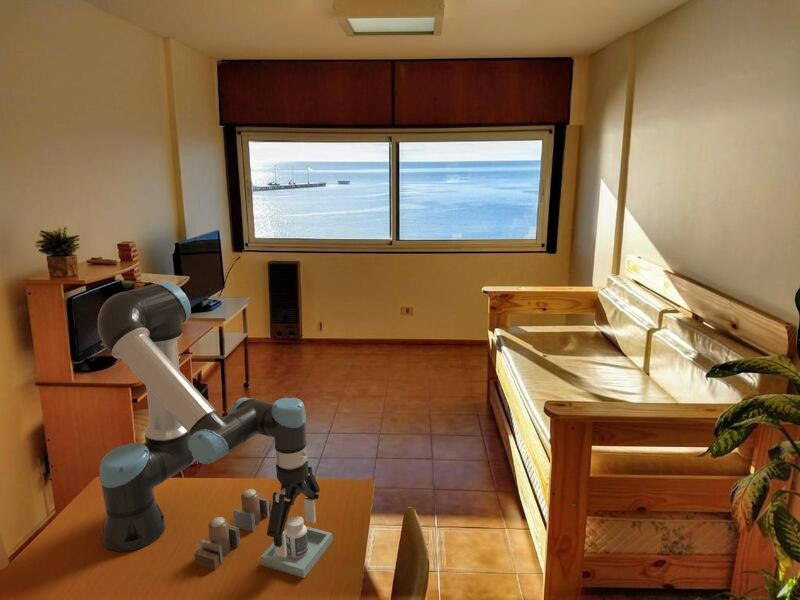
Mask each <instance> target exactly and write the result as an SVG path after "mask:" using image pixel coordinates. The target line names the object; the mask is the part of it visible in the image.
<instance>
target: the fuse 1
mask: <svg viewBox="0 0 800 600" xmlns="http://www.w3.org/2000/svg"><path fill="white" fill-rule="evenodd" d="M228 522H229V521H228V520H227V518H225V517H222V516H217V517H214V518H213V519H212V520H211V521H210V522H209V523H208V533H209V541H211V542H214V543H217V544H221V548H222V557H223V558H224V557H226V556H227V555H229V554H230V552H231V545H230V539H229V529H228V525H229V523H228Z"/></svg>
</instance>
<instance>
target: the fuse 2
mask: <svg viewBox="0 0 800 600" xmlns="http://www.w3.org/2000/svg"><path fill="white" fill-rule="evenodd" d="M259 497H260V493H259V491H257V490H256V489H255V488H249V489H246V490H244V492H242V494H241V495H240V500H241V510H244V511H248V512H252V513H254V518H255V526H257V525H258V524H260V523H261V520H262V517H261V516H262V515H260V503H259Z"/></svg>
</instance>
